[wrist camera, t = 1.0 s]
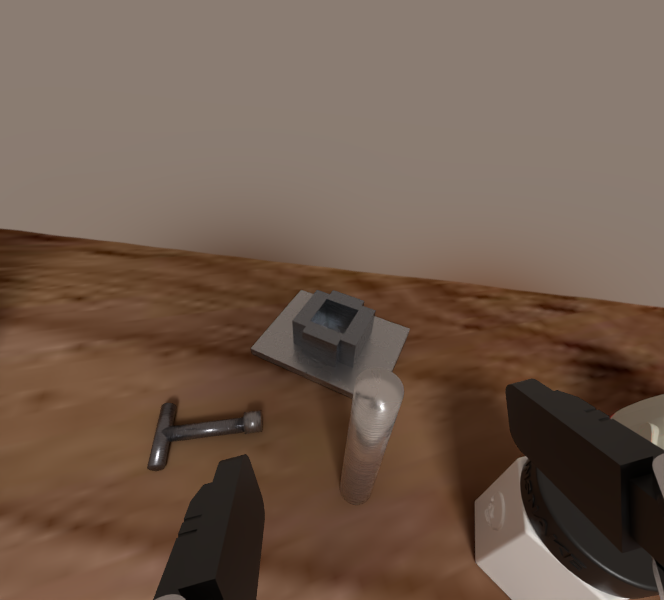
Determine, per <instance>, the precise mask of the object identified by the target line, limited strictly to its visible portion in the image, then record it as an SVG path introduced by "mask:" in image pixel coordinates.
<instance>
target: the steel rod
mask: <svg viewBox="0 0 664 600" xmlns="http://www.w3.org/2000/svg"><path fill="white" fill-rule="evenodd" d="M403 396H404V387H403V384H402V382H401V380H400V379H399V378H398V377H397V376H396V375H395V374H394V373H393V372H391V371H389V370H387V369H384V368H369V369H366V370H364V371H363V372H361V373H360V374H359V376H358V377H357V379H356V382H355V387H354V394H353V401H352V408H351V414H350V421H349V428H348V434H347V441H346V448H345V455H344V461H343V468H342V475H341V481H340V491H341V494H342V496H343V498H344V499H345V500H346V501H347V502H348V503H350V504H353V505H360V504H363V503H364V502H366V501H367V500H368V498H369V496H370V494H371V491H372V488H373V485H374V482H375V479H376V476H377V473H378V470H379V467H380V464H381V461H382V458H383V455H384V452H385V450H386V447H387V444H388V441H389V438H390V435H391V432H392V429H393V426H394V423H395V420H396V417H397V414H398V411H399V408H400V405H401V402H402V399H403Z"/></svg>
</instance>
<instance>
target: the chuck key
mask: <svg viewBox="0 0 664 600" xmlns="http://www.w3.org/2000/svg"><path fill="white" fill-rule="evenodd" d="M175 412H176V405H175V404H173V403H165V404H163V405H162V406H161V410H160V415H159V419H158V423H157V428H156V432H155V436H154V441H153V445H152V449H151V454H150V458H149V462H148V467H147V468H148V469H149V470H152V471H159V470H162V469H164V468H165V463H166V458H167V453H168V448H169V442H173V441H181V440H188V439H196V438H204V437H211V436H219V435H226V434H234V433H241V432H245V434H247V433H255V432H262V412H261V410H259V411H251V412H244V417H241V418H233V419H225V420H217V421H209V422H201V423H193V424H185V425H177V426H173V422H174V417H175Z"/></svg>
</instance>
